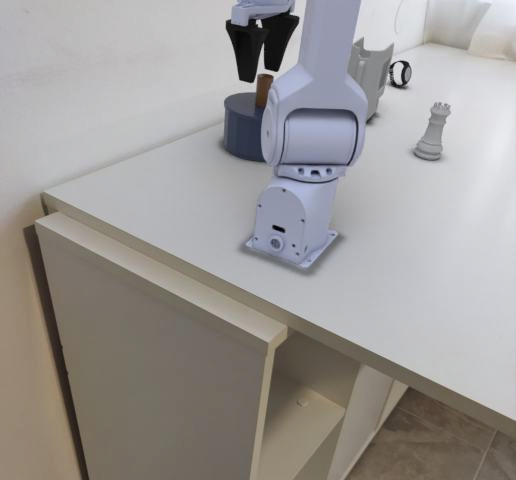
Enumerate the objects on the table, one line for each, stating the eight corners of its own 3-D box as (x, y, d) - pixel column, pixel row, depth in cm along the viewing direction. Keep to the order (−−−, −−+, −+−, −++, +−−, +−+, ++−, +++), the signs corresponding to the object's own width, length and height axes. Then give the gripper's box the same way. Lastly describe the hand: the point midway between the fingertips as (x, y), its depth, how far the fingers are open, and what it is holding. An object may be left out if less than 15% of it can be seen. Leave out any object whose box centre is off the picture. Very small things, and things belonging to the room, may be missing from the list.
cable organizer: (381, 109, 103) (397, 40, 95) (364, 128, 95) (381, 53, 87) (348, 102, 105) (361, 33, 97) (329, 120, 96) (342, 46, 88)
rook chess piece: (441, 162, 86) (458, 111, 81) (413, 158, 86) (428, 106, 81) (439, 152, 89) (455, 102, 84) (413, 148, 90) (427, 98, 84)
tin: (272, 167, 79) (277, 127, 75) (210, 148, 82) (212, 108, 78) (303, 146, 86) (309, 108, 82) (245, 128, 89) (248, 91, 85)
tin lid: (286, 132, 75) (291, 94, 72) (210, 115, 77) (212, 77, 74) (309, 109, 83) (315, 74, 80) (241, 94, 86) (243, 59, 82)
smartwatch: (397, 90, 114) (403, 64, 111) (382, 82, 118) (388, 57, 114) (412, 89, 116) (418, 64, 113) (397, 81, 119) (403, 57, 116)
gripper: (268, -48, 74) (259, 60, 83) (212, -42, 64) (208, 79, 73) (314, -40, 72) (299, 70, 81) (263, -32, 62) (253, 92, 71)
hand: (259, 75), depth 77 cm, fingers open, 7 cm apart
